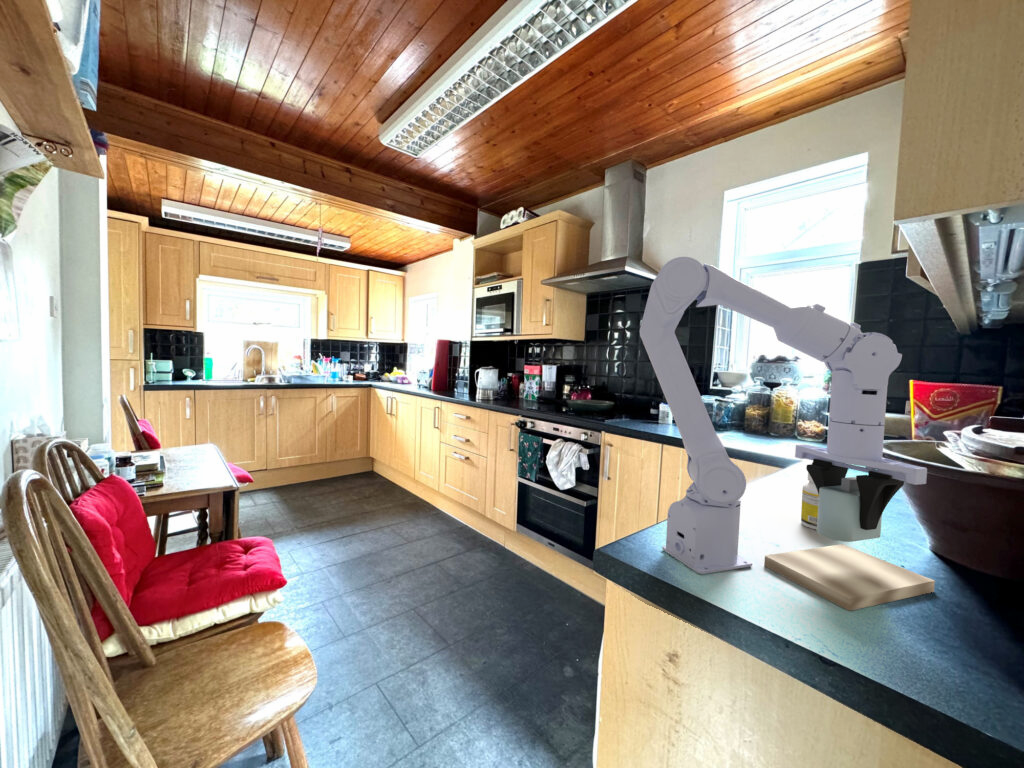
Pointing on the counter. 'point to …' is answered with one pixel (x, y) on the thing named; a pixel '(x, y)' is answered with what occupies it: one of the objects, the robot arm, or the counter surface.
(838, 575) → the cutting board
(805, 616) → the counter surface
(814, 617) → the counter surface
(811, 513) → the supplement bottle
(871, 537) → the grey capsule with tab
